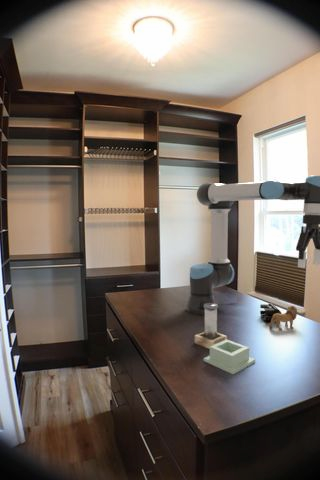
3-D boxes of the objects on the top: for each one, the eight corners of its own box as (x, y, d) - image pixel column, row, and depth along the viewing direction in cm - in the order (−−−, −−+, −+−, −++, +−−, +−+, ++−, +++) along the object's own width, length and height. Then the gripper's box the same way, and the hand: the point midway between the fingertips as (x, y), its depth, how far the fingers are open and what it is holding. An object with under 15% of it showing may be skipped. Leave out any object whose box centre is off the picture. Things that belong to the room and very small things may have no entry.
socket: (203, 361, 107) (203, 346, 106) (226, 350, 115) (226, 337, 114) (233, 374, 98) (233, 358, 97) (255, 362, 106) (255, 347, 105)
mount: (194, 342, 122) (194, 335, 122) (209, 337, 127) (209, 329, 127) (212, 350, 115) (212, 342, 115) (226, 343, 121) (226, 335, 121)
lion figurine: (290, 323, 142) (290, 303, 141) (300, 327, 137) (300, 306, 137) (265, 329, 136) (265, 308, 135) (274, 333, 131) (275, 311, 130)
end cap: (281, 323, 142) (282, 308, 141) (265, 323, 142) (266, 308, 142) (274, 316, 152) (275, 302, 151) (259, 316, 152) (260, 302, 152)
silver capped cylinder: (201, 343, 122) (201, 304, 120) (210, 339, 125) (210, 302, 124) (211, 347, 118) (211, 307, 116) (220, 343, 121) (220, 304, 120)
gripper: (308, 214, 118) (304, 270, 120) (335, 215, 134) (331, 264, 136) (289, 213, 124) (285, 267, 126) (317, 214, 140) (313, 262, 142)
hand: (309, 266), depth 131 cm, fingers open, 13 cm apart
